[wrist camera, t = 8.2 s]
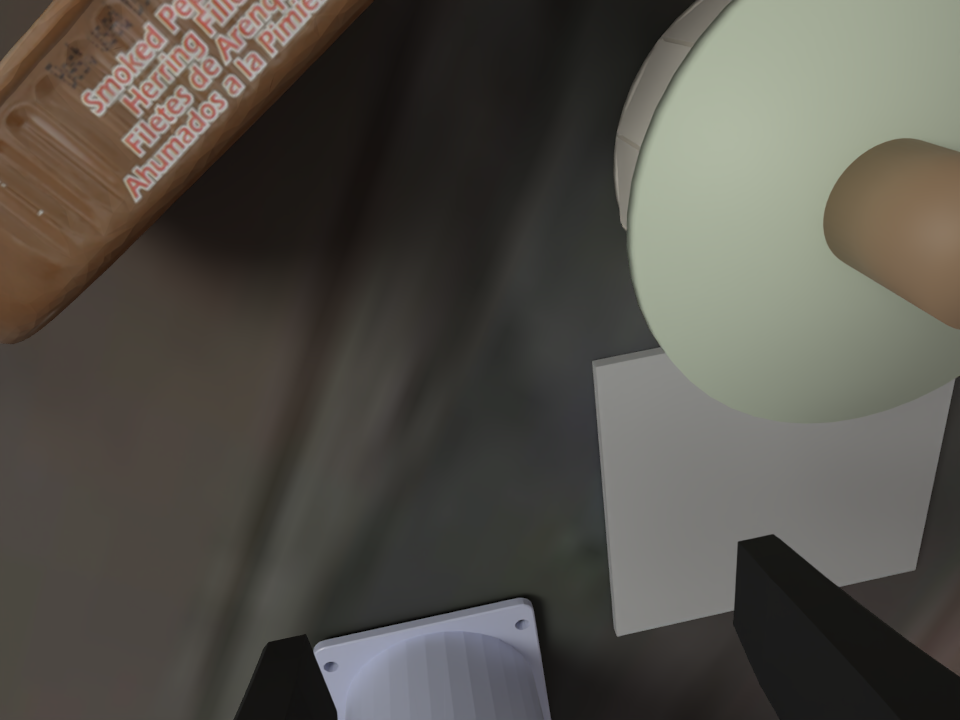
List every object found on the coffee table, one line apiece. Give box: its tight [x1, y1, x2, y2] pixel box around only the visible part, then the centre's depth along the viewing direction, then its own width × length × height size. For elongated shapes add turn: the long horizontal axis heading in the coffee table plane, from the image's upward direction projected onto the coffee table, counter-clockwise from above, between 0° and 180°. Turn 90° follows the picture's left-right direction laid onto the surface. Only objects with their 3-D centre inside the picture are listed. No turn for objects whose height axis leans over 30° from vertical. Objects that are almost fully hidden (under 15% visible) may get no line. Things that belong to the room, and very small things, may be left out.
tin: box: [0, 0, 374, 344], centre depth 13 cm, size 15×3×8 cm, turn 130°
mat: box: [592, 347, 955, 636], centre depth 25 cm, size 12×12×1 cm
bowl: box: [614, 0, 732, 232], centre depth 18 cm, size 9×9×4 cm
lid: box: [627, 0, 960, 424], centre depth 14 cm, size 11×11×4 cm
